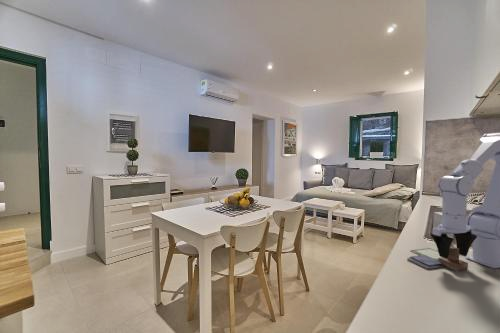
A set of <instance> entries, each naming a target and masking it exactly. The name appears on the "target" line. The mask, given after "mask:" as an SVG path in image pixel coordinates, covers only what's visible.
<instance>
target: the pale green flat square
mask: <svg viewBox="0 0 500 333" xmlns="http://www.w3.org/2000/svg"><path fill="white" fill-rule="evenodd" d="M410 252H411V253H414V254H416V255H417V256H420V255H424V256H426V257H429V258H431V259H433V260H436V261H438V262H439V258H441V256H439V252H438V250H437V249H436V250H435V249H434V248H430V247H427V248H419V249H418V248H417V249H411V250H410Z"/></svg>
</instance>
